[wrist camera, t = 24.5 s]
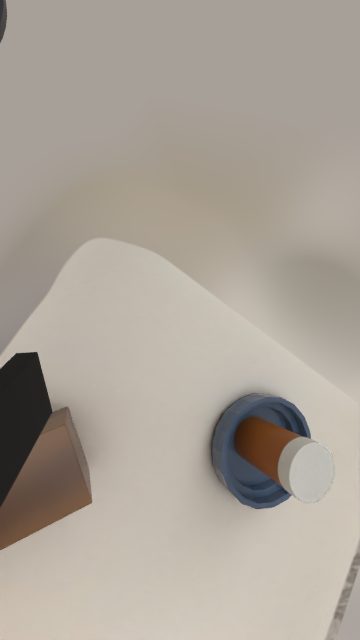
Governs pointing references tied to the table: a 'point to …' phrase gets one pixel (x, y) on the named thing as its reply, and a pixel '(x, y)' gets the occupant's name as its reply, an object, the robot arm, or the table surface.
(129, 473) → the table surface
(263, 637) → the table surface
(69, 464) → the riser
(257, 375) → the table surface
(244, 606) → the table surface
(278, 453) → the vitamin bottle
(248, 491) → the bowl
